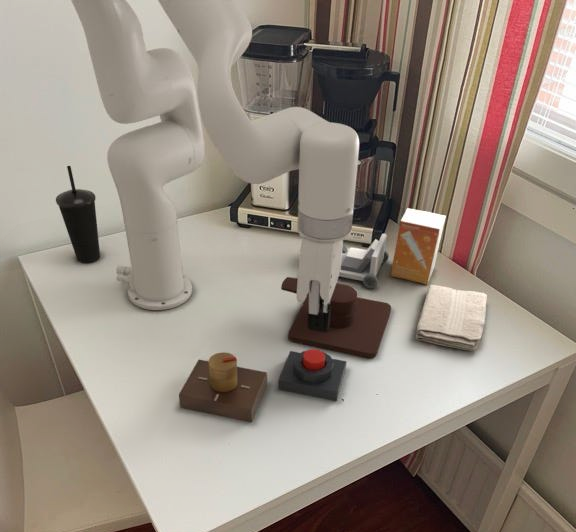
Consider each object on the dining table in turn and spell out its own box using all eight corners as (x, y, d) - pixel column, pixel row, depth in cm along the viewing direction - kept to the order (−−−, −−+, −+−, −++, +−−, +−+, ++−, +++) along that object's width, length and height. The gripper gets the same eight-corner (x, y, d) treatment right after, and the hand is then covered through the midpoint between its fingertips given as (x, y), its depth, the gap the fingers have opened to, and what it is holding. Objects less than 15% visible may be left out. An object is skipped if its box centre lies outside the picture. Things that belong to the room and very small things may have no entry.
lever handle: (295, 258, 119) (397, 277, 115) (294, 290, 124) (391, 309, 120) (268, 304, 108) (380, 327, 103) (268, 337, 112) (374, 360, 108)
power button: (300, 368, 101) (301, 360, 99) (305, 355, 103) (306, 347, 102) (321, 372, 100) (322, 364, 99) (326, 359, 103) (327, 351, 101)
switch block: (278, 389, 102) (278, 371, 99) (289, 360, 108) (290, 342, 105) (336, 401, 100) (338, 383, 98) (345, 370, 106) (347, 352, 103)
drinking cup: (78, 246, 134) (58, 157, 121) (111, 250, 134) (95, 160, 120) (64, 265, 129) (41, 172, 115) (99, 268, 128) (80, 176, 115)
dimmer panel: (180, 408, 98) (178, 393, 96) (199, 372, 105) (198, 358, 103) (251, 422, 96) (251, 408, 94) (267, 385, 103) (267, 371, 101)
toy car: (294, 230, 122) (311, 206, 131) (292, 272, 129) (309, 246, 137) (382, 247, 118) (394, 221, 127) (376, 290, 125) (387, 262, 133)
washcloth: (413, 342, 113) (416, 329, 110) (425, 291, 125) (428, 278, 123) (479, 355, 110) (483, 342, 108) (484, 301, 123) (488, 288, 121)
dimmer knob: (212, 394, 96) (210, 370, 93) (208, 376, 99) (206, 352, 96) (240, 389, 97) (239, 366, 94) (234, 372, 100) (233, 348, 97)
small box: (390, 277, 129) (399, 220, 120) (397, 262, 133) (406, 206, 124) (427, 285, 127) (440, 228, 118) (434, 270, 131) (446, 214, 122)
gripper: (310, 194, 90) (306, 298, 102) (284, 242, 79) (283, 352, 91) (360, 200, 89) (350, 305, 101) (341, 250, 78) (332, 361, 90)
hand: (318, 327), depth 96 cm, fingers closed
